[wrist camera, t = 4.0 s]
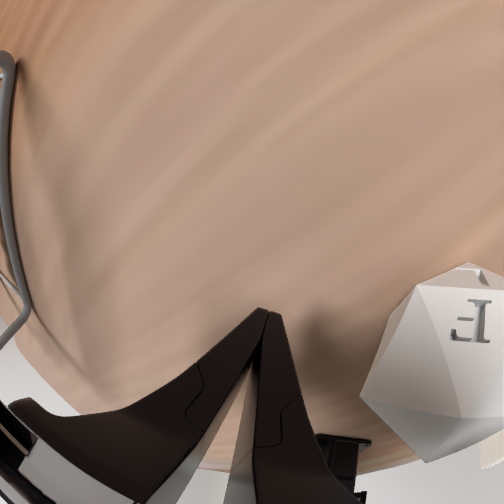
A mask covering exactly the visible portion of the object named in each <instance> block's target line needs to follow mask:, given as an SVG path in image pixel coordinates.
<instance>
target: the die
mask: <svg viewBox="0 0 504 504" xmlns="http://www.w3.org/2000/svg"><path fill="white" fill-rule="evenodd" d="M359 396H360V397H361V399H362V400H363V401H364V402H365V403H366V404H367V405H368V406H369V407H370V408H371V409H372V410H373V411H374V412H375V413H376V414H377V415H378V416H379V417H380V418H381V419H382V420H383V421H384V422H385V423H386V424H387V425H388V426H389V427H390V428H391V429H392V430H393V431H394V432H395V433H396V434H397V435H398V436H399V437H400V438H401V439H402V440H403V441H404V442H405V443H406V444H407V445H408V446H409V447H410V448H411V449H412V450H413V451H414V452H415V453H416V454H417V455H418V456H419V457H420V458H421V459H422V460H423V461H424V462H425V463H428V462H431V461H434V460H437V459H439V458H442V457H445V456H448V455H450V454H453V453H455V452H458V451H460V450H462V449H465V448H467V447H469V446H471V445H473V444H476V443H478V442H480V441H482V440H484V439H486V438H488V437H490V436H492V435H494V434H495V433H497V432H499V431H501V430H503V429H504V277H502V276H500V275H497V274H495V273H493V272H491V271H488V270H486V269H484V268H481V267H479V266H477V265H474V264H472V263H469V262H467V263H465V264H463V265H461V266H458V267H456V268H455V269H452V270H450V271H447V272H445V273H443V274H441V275H438V276H436V277H434V278H431V279H429V280H426V281H424V282H422V283H419V284H417V285H416V286H415V287H414V288H413V289H412V290H411V292H410V293H409V294H408V295H407V296H406V297H405V298H404V300H403V301H402V302H401V303H400V304H399V305H398V306H397V307H396V308H395V310H394V311H393V312H392V313H391V314H390V315H389V319H388V322H387V325H386V328H385V331H384V334H383V337H382V340H381V343H380V345H379V348H378V351H377V354H376V356H375V359H374V362H373V364H372V367H371V369H370V372H369V374H368V377H367V379H366V381H365V384H364V386H363V388H362V391H361V393H360V395H359Z"/></svg>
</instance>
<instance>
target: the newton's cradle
mask: <svg viewBox="0 0 504 504" xmlns="http://www.w3.org/2000/svg"><path fill="white" fill-rule="evenodd" d="M0 67H1V68H2V71H3V74H1V73H0V78H3V79H2V85H1V92H0V206H1V214H2V220H3V226H4V232H5V237H6V242H7V247H8V251H9V256H10V260H11V264H12V268H13V271H14V275H15V278H16V282H17V285H18V288H19V292H20V293H19V292H18V291H17V290H16V289H15V288H14V287H13V286H12V285H11V284H10V283H9V282H8V281H7V280H6V279H5V278H4V276H3V275H2V274H1V273H0V277H1V278H2V279H3V280H4V281H5V282H6V284H7V285H8V286H9V287H10V288H11V289H12V290H13V291H14V292H15V293H16V294H17V295H18V296H19V297H20V298H21V299H22V301H23V303H24V308H23V311H22V313H21V315H20V316H19V317H18V318H17V319H16V320H15V321H14V322H13V323H12V324H11V325H10V326H9V327H8V329H7V330H6V331H5V332H4V333H3V334H2V335H1V336H0V350H1V349H2V348H3V347H4V345H5V344H6V343H7V342H8V341H9V340H10V339H11V338H12V336H13V335H14V334H15V333H16V332H17V331H18V330H19V329H20V328H21V327H22V325H23V324H24V323H25V322H26V321H27V319H28V318H29V316H30V313H31V307H32V305H31V300H30V297H29V294H28V290H27V287H26V283H25V279H24V276H23V272H22V268H21V263H20V259H19V254H18V250H17V245H16V239H15V233H14V227H13V220H12V213H11V204H10V193H9V178H8V132H9V117H10V107H11V99H12V91H13V85H14V79H15V70H16V66H15V62H14V59H13V57H12V56H11V54H9V53H8V52H6V51H2V50H0Z"/></svg>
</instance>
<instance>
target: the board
mask: <svg viewBox="0 0 504 504" xmlns="http://www.w3.org/2000/svg"><path fill="white" fill-rule="evenodd" d="M479 451H480V462H481V469H485V468H489V467H492V466H494V465H496V464H497V463H499V462H501V461H502V460H504V429H503V430H501V431H499V432H497V433H495V434H494V435H492V436H490V437H488V438H486V439H484V440H482V441H480V442H479Z"/></svg>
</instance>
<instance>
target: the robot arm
mask: <svg viewBox="0 0 504 504" xmlns="http://www.w3.org/2000/svg"><path fill="white" fill-rule="evenodd" d="M252 362H253V363H252ZM251 365H252V366H251ZM250 367H251V370H250ZM249 370H250V375H249V380H248V385H247V391H246V396H245V401H244V406H243V411H242V417H241V422H240V427H239V432H238V437H237V441H236V446H235V451H234V456H233V461H232V466H231V470H230V475H229V480H228V484H227V489H226V494H225V498H224V503H223V504H365V503H366V495H367V491H362V492H359V493H354V487H355V479H356V474H357V465H358V454H359V452H361V451H363V450H364V449H366V448H368V447H370V446H371V441H365V440H355V439H346V438H339V437H332V436H325V435H315V434H314V432H313V429H312V426H311V424H310V421H309V418H308V415H307V411H306V408H305V404H304V400H303V396H302V395H301V394H302V393H301V389H300V385H299V381H298V377H297V373H296V369H295V365H294V361H293V358H292V354H291V350H290V346H289V342H288V338H287V335H286V331H285V327H284V323H283V319H282V316H281V314H279V313H276V312H272V311H270V312H269V311H268V310H266V309H263V308H256V309H255V310H254V311H253V312H252V313H251V314H250V315H249V316H248V317H247V318H245V319H244V320H243V321H242V322H241V323H240V324H239V325H238V326H237V327H235V328H234V329H233V330H232V331H231V332H230V333H229V334H228V335H226V336H225V337H224V338H223V339H222V340H221V341H220V342H218V343H217V344H216V345H215V346H214V347H213V348H212V349H210V350H209V351H208V352H207V353H206V354H205V355H203V356H202V357H201V358H200V359H199V360H198V361H197V363H194V364H193V365H192V366H190V367H189V368H188V369H187V370H185V371H184V372H183V373H182V374H180V375H179V376H178V377H176V378H175V379H173V380H172V381H170V382H169V383H167V384H166V385H164V386H163V387H161V388H159V389H158V390H156V391H154V392H153V393H151V394H149V395H147V396H146V397H144V398H142V399H141V400H139V401H137V402H135V403H133V404H132V405H130V406H127V407H125V408H122V409H119V410H115V411H109V412H103V413H96V414H88V415H80V416H70V417H62V416H56V415H53V414H51V413H49V412H48V411H46V410H45V409H44V408H43V407H41V406H40V405H39V404H38V403H37V402H35V401H34V400H33V399H32V398H30V397H28V398H24V399H19V400H16V401H14V402H12V403H10V404H9V405H8V408H9V409H10V410H11V411H10V410H9V409H8V408H7V407H6V406H5V405H4V404H3V402H2V401H1V400H0V496H1V497H2V498H3V499H4V500H5V501H6V502H7V503H8V504H176V502H177V501H178V499H179V498H180V496H181V495H182V493H183V491H184V490H185V488H186V486H187V485H188V483H189V481H190V480H191V478H192V476H193V474H194V473H195V471H196V469H197V468H198V466H199V464H200V462H201V461H202V459H203V457H204V455H205V454H206V452H207V450H208V448H209V446H210V445H211V443H212V441H213V439H214V437H215V435H216V434H217V432H218V430H219V428H220V426H221V424H222V422H223V421H224V419H225V417H226V415H227V413H228V411H229V409H230V407H231V405H232V403H233V402H234V400H235V398H236V396H237V394H238V392H239V390H240V388H241V386H242V384H243V382H244V380H245V378H246V376H247V374H248V372H249ZM29 429H30V430H31V431H32V432H31V431H30V430H29Z"/></svg>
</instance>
